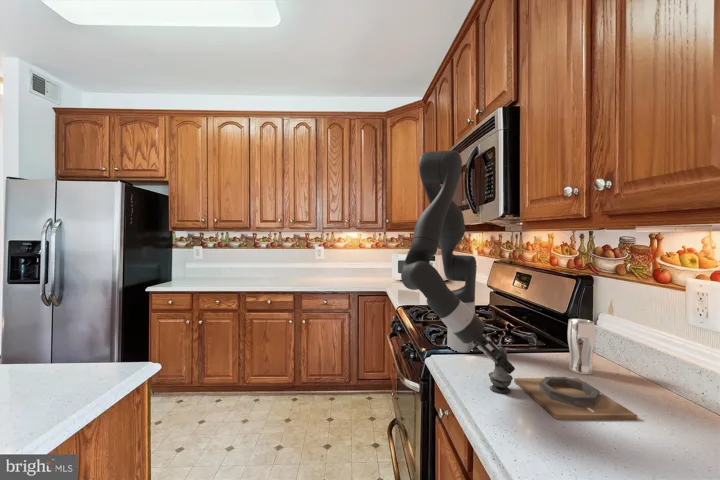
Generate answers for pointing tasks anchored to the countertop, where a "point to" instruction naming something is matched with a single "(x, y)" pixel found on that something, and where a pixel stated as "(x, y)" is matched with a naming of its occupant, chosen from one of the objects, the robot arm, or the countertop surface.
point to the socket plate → (574, 411)
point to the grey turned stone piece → (500, 377)
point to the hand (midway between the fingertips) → (504, 364)
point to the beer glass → (581, 345)
